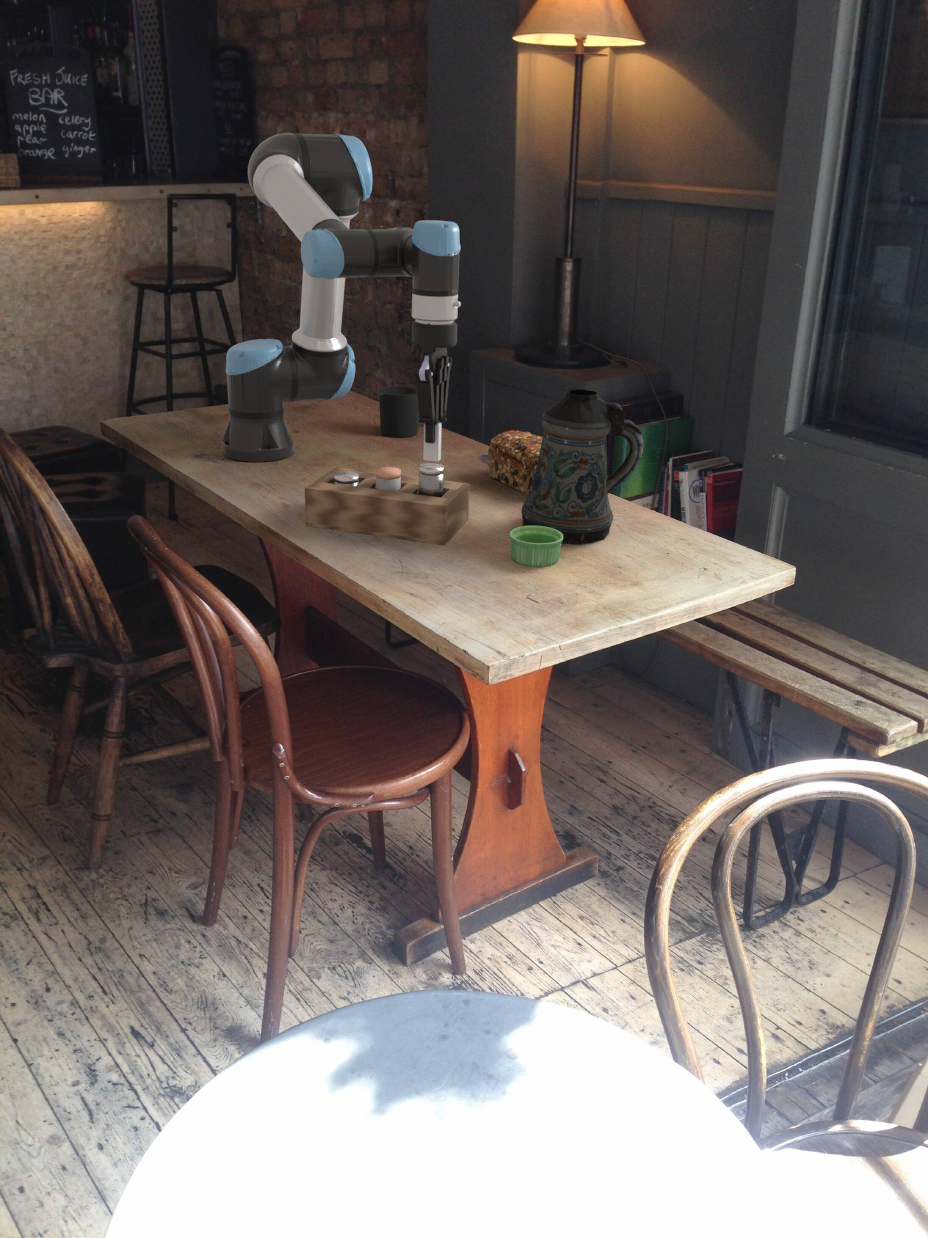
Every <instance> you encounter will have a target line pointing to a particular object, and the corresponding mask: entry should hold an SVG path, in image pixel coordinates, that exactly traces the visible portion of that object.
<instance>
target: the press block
mask: <svg viewBox="0 0 928 1238" xmlns="http://www.w3.org/2000/svg"><path fill="white" fill-rule="evenodd" d="M344 471H348V472H355V473H358V474H359V484H358V485H356V486H347V485H340V484H334V474H335V473H338V472H344ZM470 485H471V483H467V482H457V481H451V480H444V489H443V496H442V497H441V498H440V497H432V496H425V495H418V488H419V476H412V475H402V474H401V489H400V490H399V491H398V492H394V491H386V490H378V489H376V471H370V470H362V469H354V468H346V467H338V466H335V467H334V468H332V469H331V470H329V471H328V472H327V473H325V474H323V475H322V476H321V477H320V478H319V477H318V479H316V480H314V481H313V482H311V483H310V484H308V485H307V486H305V487H304V514H305V516H304V518H305V526H306V527H313V528H319V529H327V530H333V531H339V532H340V531H341V532H347V533H348V532H349V533H355V534H362V535H368V536H376V537H382V538H390V539H398V540H404V541H412V542H419V543H425V544H432V545H439V546H445V545H447V543H448V542H449V541H450V540H451V539H453V537H454V536H455V535H456V534H457V533H458V532H459V531H460V530H461V529H462V527H464V526H465V524H467V522H468V521H469V513H470V511H469V509H470V506H469V505H470Z"/></svg>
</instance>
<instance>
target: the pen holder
mask: <svg viewBox="0 0 928 1238" xmlns="http://www.w3.org/2000/svg"><path fill="white" fill-rule="evenodd" d="M378 396H379V397H378V398H379V421H380V422H379V424H380V425H379V426H380V432H381V434H382V435H383V436H386V437H390V438H399V439H401V438H402V439H405V438H412V437H415V436H416V435H417V434H418V432H419V421H418V420H419V408H418V394H417V389H415V388H414V387H411V386H405V385H403V386H402V385H398V386H397V385H395V386H394V385H393V386H392V385H391V386H385V387H381V388H380V389H379V392H378Z"/></svg>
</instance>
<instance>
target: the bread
mask: <svg viewBox="0 0 928 1238" xmlns="http://www.w3.org/2000/svg"><path fill="white" fill-rule="evenodd" d="M542 439H543V436H541V435H536V434H532V433H531V432H529V431H520V430H519V429H517V430H514V429H512V430H511V429H510V430H508V431H507V430H506V431H503V432H501V433H497V434H496V435H494V437H492V438H491V439H490V440H491V441H490V444H489V447H488V450H487V454H488V455H487V456H488V458H487V461H488V463H487V466H488V469H489V470H488V472H489V475H490V477H491V478H492V479H493V480H498V481H500V482H501V483H502V484H504V485H506V486H510V487H511V488H513V489H515V490H518V491H519V492H521V493H523V494H528V493H529V491H530V488H531V484H532V481H533V478H534V474H535V470H536V466H537V462H538V457H539V452H540V448H541V443H542Z"/></svg>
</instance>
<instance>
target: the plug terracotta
mask: <svg viewBox="0 0 928 1238" xmlns="http://www.w3.org/2000/svg"><path fill="white" fill-rule="evenodd" d="M375 472H376V489H378V490H386V491H394V492H398V491H399V490H400V489H401V475H402V470H401V468H398V467H393V466H382V467H377V468H376V470H375Z"/></svg>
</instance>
